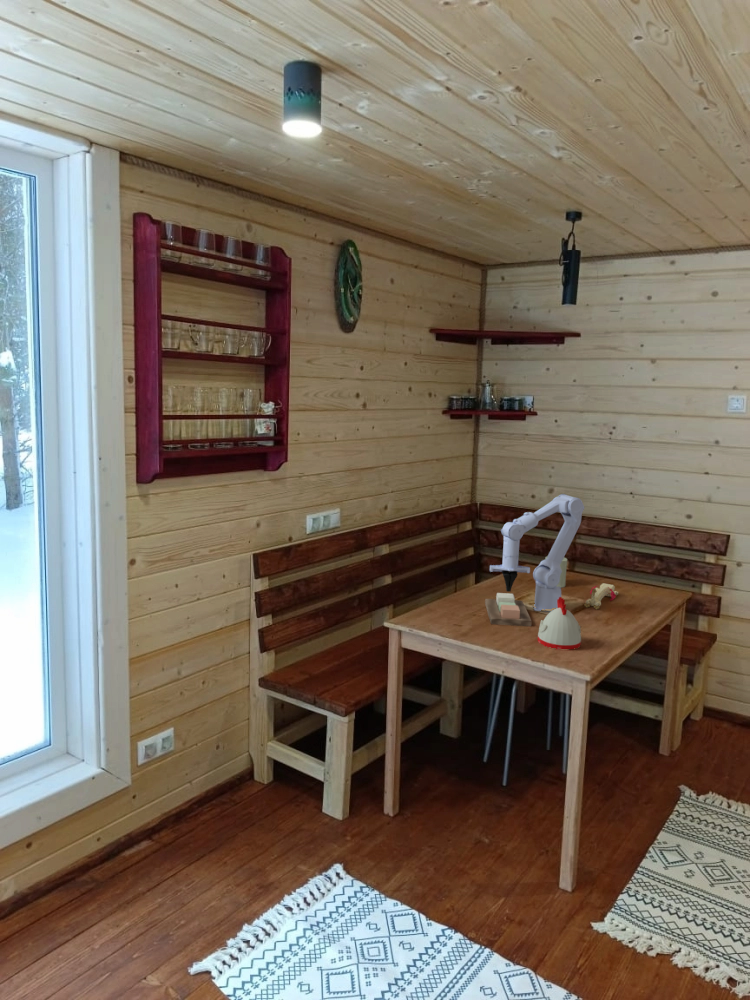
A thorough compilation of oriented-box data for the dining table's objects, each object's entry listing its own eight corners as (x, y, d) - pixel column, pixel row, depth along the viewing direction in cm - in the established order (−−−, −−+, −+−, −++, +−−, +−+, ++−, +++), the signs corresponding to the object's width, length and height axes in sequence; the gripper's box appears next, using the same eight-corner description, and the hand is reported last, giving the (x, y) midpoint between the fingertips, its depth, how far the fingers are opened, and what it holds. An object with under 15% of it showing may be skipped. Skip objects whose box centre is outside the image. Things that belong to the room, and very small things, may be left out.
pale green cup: (567, 588, 315) (570, 560, 313) (545, 587, 314) (548, 559, 313) (562, 582, 324) (564, 555, 322) (540, 581, 324) (543, 554, 322)
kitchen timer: (573, 635, 256) (577, 593, 253) (586, 650, 242) (590, 605, 240) (533, 635, 255) (536, 592, 253) (543, 649, 242) (547, 604, 239)
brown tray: (521, 605, 288) (522, 600, 287) (531, 626, 264) (531, 620, 264) (485, 603, 288) (485, 598, 288) (490, 624, 265) (491, 618, 264)
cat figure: (604, 614, 286) (621, 594, 306) (605, 592, 284) (623, 574, 304) (578, 609, 291) (597, 589, 311) (579, 587, 289) (598, 569, 309)
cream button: (512, 602, 286) (512, 593, 285) (514, 607, 280) (514, 598, 280) (496, 601, 286) (496, 592, 286) (497, 606, 280) (498, 597, 280)
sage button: (514, 611, 279) (514, 602, 278) (516, 616, 273) (517, 607, 272) (498, 610, 279) (498, 601, 279) (499, 616, 273) (500, 606, 273)
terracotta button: (517, 614, 271) (517, 605, 271) (519, 620, 265) (520, 610, 265) (500, 613, 272) (501, 604, 271) (502, 619, 266) (502, 609, 265)
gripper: (492, 556, 273) (489, 593, 275) (532, 558, 272) (529, 594, 274) (489, 552, 280) (487, 587, 282) (529, 553, 279) (526, 589, 281)
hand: (508, 590), depth 279 cm, fingers closed
